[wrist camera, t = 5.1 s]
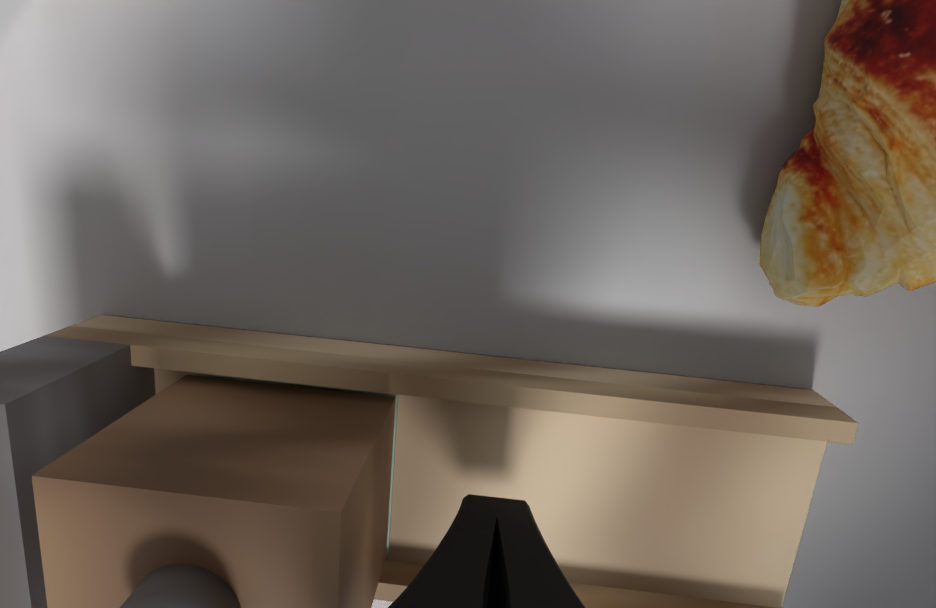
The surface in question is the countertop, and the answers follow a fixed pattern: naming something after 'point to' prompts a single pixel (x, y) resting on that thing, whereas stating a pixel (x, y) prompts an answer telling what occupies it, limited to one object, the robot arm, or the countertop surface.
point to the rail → (474, 453)
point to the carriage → (222, 501)
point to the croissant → (862, 163)
